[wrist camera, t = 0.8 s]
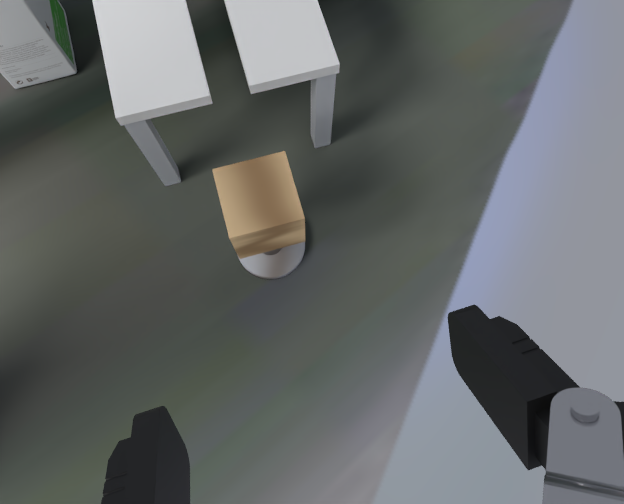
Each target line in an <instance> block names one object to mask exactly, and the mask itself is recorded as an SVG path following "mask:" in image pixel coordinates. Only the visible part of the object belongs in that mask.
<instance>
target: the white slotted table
mask: <svg viewBox="0 0 624 504" xmlns="http://www.w3.org/2000/svg"><path fill="white" fill-rule="evenodd" d="M92 2H93V7H94V12H95V17H96V22H97V27H98V32H99V37H100V42H101V47H102V52H103V57H104V62H105V67H106V72H107V77H108V82H109V87H110V92H111V97H112V102H113V107H114V112H115V117H116V119H117V121H118V122H119V124H120V125H121V126H122V125H124V126H125V128H126V129H127V131H128V132H129V134H130V135H131V137H132V138H133V139H134V141H135V142H136V144H137V145H138V147H139V148H140V150H141V151H142V153H143V154H144V156H145V157H146V159H147V160H148V162H149V163H150V165H151V166H152V167H153V169H154V170H155V172H156V173H157V175H158V176H159V178H160V179H161V181H162V182H163V184H164V185H165V186H168V185H172V184H176V183H180V182H181V178H180V174H179V170H178V167H177V165H176V163H175V161H174V160H173V158H172V156H171V154H170V153H169V151H168V149H167V147H166V146H165V144H164V142H163V140H162V139H161V137H160V135H159V133H158V131H157V130H156V128H155V126H154V124H153V123H152V121H151V118H155V117H159V116H163V115H167V114H171V113H175V112H180V111H184V110H188V109H192V108H196V107H200V106H204V105H208V104H213V103H212V99H211V95H210V91H209V87H208V83H207V80H206V76H205V72H204V68H203V64H202V60H201V57H200V53H199V49H198V45H197V41H196V37H195V34H194V30H193V26H192V22H191V18H190V14H189V11H188V7H187V3H186V0H92ZM224 2H225V5H226V9H227V12H228V16H229V19H230V23H231V26H232V30H233V33H234V37H235V40H236V44H237V47H238V51H239V54H240V58H241V61H242V65H243V68H244V72H245V75H246V79H247V82H248V86H249V89H250V93H251V94H254V93H258V92H262V91H266V90H270V89H274V88H279V87H283V86H287V85H291V84H295V83H299V82H303V81H307V80H311V137H312V140H313V144H314V147H315V148H318V147H322V146H326V145H330V143H331V131H332V119H333V107H334V94H335V82H336V73H339V67H340V63H339V61H338V58H337V55H336V52H335V49H334V46H333V43H332V40H331V38H330V35H329V32H328V29H327V26H326V23H325V20H324V17H323V15H322V12H321V9H320V6H319V3H318V0H224Z"/></svg>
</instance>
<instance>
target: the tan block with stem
mask: <svg viewBox="0 0 624 504" xmlns="http://www.w3.org/2000/svg"><path fill="white" fill-rule="evenodd" d="M212 171H213V175H214V179H215V183H216V187H217V191H218V195H219V199H220V203H221V207H222V211H223V215H224V219H225V223H226V227H227V231H228V235H229V239H230V241H231V243H232V245H233V247H234V249H235V251H236V253H237V255H238V258H239V260H240V262H241V264H242V265H243V267H244V268H245V269H246V270H247V271H248V272H249V273H251V274H252V275H254V276H256V277H259V278H262V279H270V280H272V279H279V278H282V277H285V276H287V275H289V274H290V273H292V272H293V271H294V270H295V269H296V268H297V267H298V266H299V264H300V263H301V261H302V259H303V256H304V252H305V217H304V214H303V210H302V207H301V204H300V200H299V197H298V193H297V190H296V187H295V183H294V180H293V177H292V173H291V170H290V166H289V163H288V160H287V156H286V153H285V151H282V152H278V153H274V154H270V155H266V156H263V157H259V158H255V159H251V160H247V161H243V162H239V163H235V164H231V165H227V166H223V167H219V168H215V169H212Z"/></svg>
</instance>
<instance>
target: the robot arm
mask: <svg viewBox="0 0 624 504" xmlns="http://www.w3.org/2000/svg"><path fill="white" fill-rule="evenodd" d="M448 324H449V333H450V342H451V351H452V357H453V361H454V364H455V366H456V368H457V371H458V373H459V374H460V376H461V377H462V379H463V380H464V382H465V383H466V385H467V386H468V387H469V389H470V390H471V392H472V393H473V394H474V396H475V397H476V399H477V400H478V401H479V403H480V404H481V405H482V407H483V408H484V410H485V411H486V412H487V414H488V415H489V417H490V418H491V419H492V421H493V422H494V424H495V425H496V426H497V428H498V429H499V430H500V432H501V433H502V435H503V436H504V437H505V439H506V440H507V442H508V443H509V444H510V446H511V447H512V449H513V450H514V451H515V453H516V454H517V455H518V457H519V458H520V459H521V461H522V462H523V464H524V465H525V467H526V468H527V469H528V470H530V469H533V468H536V467H539V466H541V465H542V466H543V467H544V468H545V470H546V475H545V478H544V490H543V504H624V402H614V401H612V400H611V399H610V398H609V397H607V396H606V395H604V394H602V393H600V392H598V391H595V390H591V389H587V388H580V387H579V386H578V385H577V384H576V383H575V382H574V381H573V380H572V379H571V378H570V377H569V376H568V375H567V374H566V373H565V372H564V371H563V370H562V369H561V368H560V367H559V366H558V365H557V364H556V363H555V362H554V361H553V360H552V359H551V358H550V357H549V356H548V355H547V354H546V353H545V352H544V351H543V350H542V349H541V350H540V348H539V346H538V345H537V344H536V343H535V342H534V341H533V340H532V339H531V340H530V338H529V336H528V335H527V334H526V333H525V332H524V331H523V330H522V329H521V328H520V327H519V326H518V325H517V324H515V323H513V322H510V321H508V320H506V319H504V318H502V317H500V316H498V317H495V318H493V319H489V318H488V317H487V316H486V315H485V314H484V313H483V312H482V310H481V309H479V308H478V307H477V306H476V305H472V306H469V307H465V308H462V309H459V310H456V311H453V312H450V313H449V314H448ZM105 479H106V482H105V484H104V490H103V496H104V497H103V498H102V502H101V504H190V464H189V457H188V453H187V449H186V447H185V444H184V442H183V440H182V438H181V436H180V434H179V432H178V430H177V428H176V426H175V424H174V422H173V420H172V418H171V416H170V414H169V413H168V411H167V409H166V408H165V407H164V406H161V407H157V408H154V409H151V410H148V411H145V412H142V413H139V414H136V415H135V416H134V418H133V425H132V433H131V437H130V438H127V439H124V440H121V441H119V442H118V444H117V446H116V448H115V449H114V451H113V453H112V455H111V456H110V458H109V460H108V466H107V472H106V478H105Z"/></svg>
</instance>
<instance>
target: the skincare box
mask: <svg viewBox="0 0 624 504" xmlns="http://www.w3.org/2000/svg"><path fill="white" fill-rule="evenodd" d="M0 73H1V74H2V75H3V76H4V77H5V78H6V79H7V80H8V81H9V83H10V84H11V85H12V86H13V87H14V88H15V89H17V88H22V87H26V86H30V85H34V84H38V83H43V82H46V81H50V80H54V79H58V78H62V77H66V76H69V75H73V74H76V73H77V68H76V63H75V58H74V52H73V47H72V42H71V37H70V33H69V28H68V22H67V16H66V12H65V10H64V8H63V7H62V5H61V4H60V2H59V1H58V0H0Z"/></svg>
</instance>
